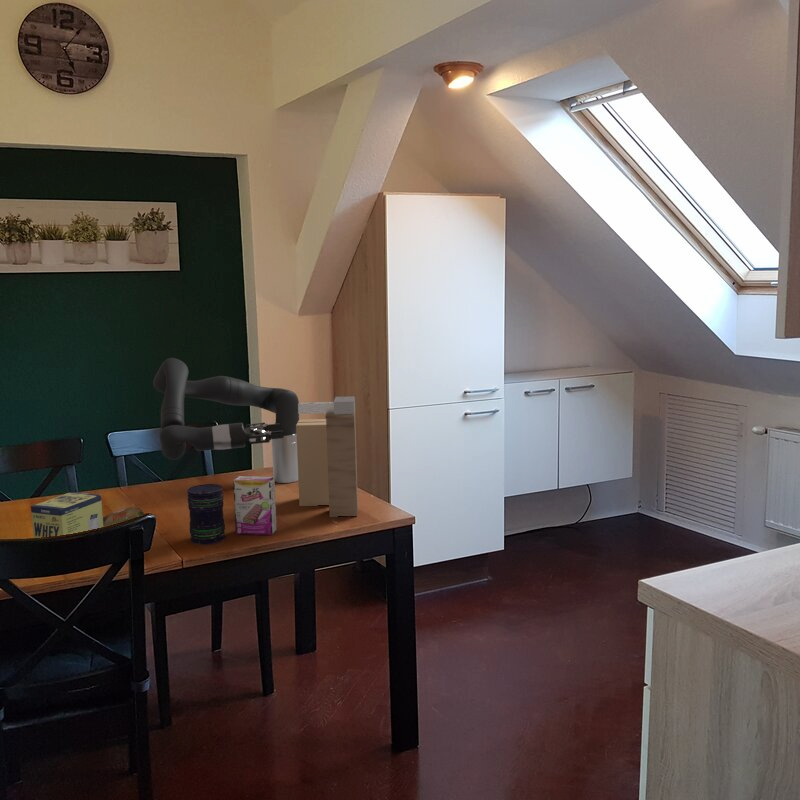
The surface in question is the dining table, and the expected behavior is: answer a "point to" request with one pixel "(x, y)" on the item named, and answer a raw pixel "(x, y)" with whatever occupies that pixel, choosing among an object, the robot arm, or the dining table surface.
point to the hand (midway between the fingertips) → (281, 430)
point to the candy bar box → (254, 505)
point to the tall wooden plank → (342, 465)
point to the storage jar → (206, 514)
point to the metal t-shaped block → (329, 406)
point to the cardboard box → (312, 462)
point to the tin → (122, 516)
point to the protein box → (67, 515)
